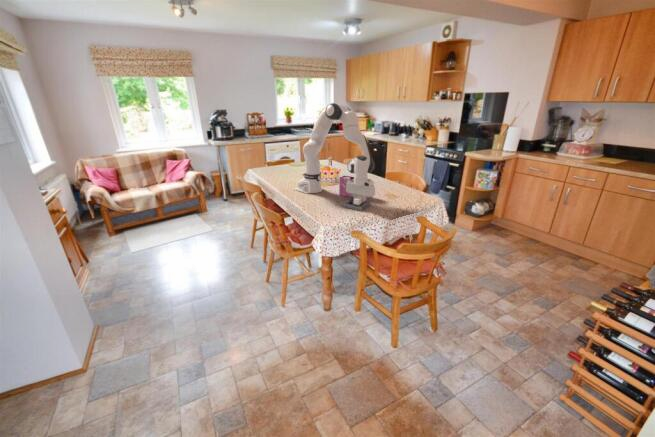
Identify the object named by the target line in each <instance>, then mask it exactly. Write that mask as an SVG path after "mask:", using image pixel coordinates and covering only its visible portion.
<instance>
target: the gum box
mask: <svg viewBox="0 0 655 437" xmlns="http://www.w3.org/2000/svg"><path fill="white" fill-rule="evenodd" d="M349 179H350V180H354V176H348V175H342V176H341V177H339V186H338V188H339V190H338V191H339V192H338V193H339V196H343V197H347V198H349V197H350V198H354V196H353V194H351V193H347V192H346V186H347V180H349ZM369 179H370V180H372V179H371V178H369ZM357 196H359V195H357V194H356V197H357ZM368 199H370V197H366V201H368Z"/></svg>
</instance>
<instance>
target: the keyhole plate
mask: <svg viewBox="0 0 655 437" xmlns="http://www.w3.org/2000/svg"><path fill="white" fill-rule="evenodd" d="M353 202H354V197H351V198H350V199H348V200H347V201H345V202H344V203H343V204H342V207H343V208H346V209H350V210H354V211H358V212H359V211H360V212H362V211H364V210H365V209H367V208H368V207H369V206H371V202H372V201H371V200H365V202H364V203H361V204H360V205H356V204H353Z"/></svg>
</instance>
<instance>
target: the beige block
mask: <svg viewBox="0 0 655 437" xmlns="http://www.w3.org/2000/svg"><path fill="white" fill-rule="evenodd" d="M353 198H354V197H353ZM362 199H364V196H362V195H359V196H357V197H356V198H354V202H353V204H356V205H360V204H361V203H364V202H362ZM365 200H366V198H365ZM366 201H367V200H366Z"/></svg>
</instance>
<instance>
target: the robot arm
mask: <svg viewBox="0 0 655 437" xmlns="http://www.w3.org/2000/svg"><path fill="white" fill-rule="evenodd" d="M334 122H338V123H341V124H342V132H343V136H344V138H345V139H346V140H347V141H348V142H350V143H354V144H356V145H358V146H360V148H361V152H362V155H357V156H355V158H352V159H349V160H348V162H347V171H348V172H349V173H350V174H354V175H353V177H354V180H350V179H349V180H347V186H346V192H347V193H351V194H353V196H354V197H353V198H356V194H357V195H362V196H364V199H362V202H365V198H366V197H369V198H373V197H375V195H376V186H375V181H374V180H372V179H371V178H368V174H371V173H372V172H373V171H374V169H375V166H376V165H375V162H374V159H373V157H372V153H371V150H370V146H369V143H368V140H367V137H366V135H364V134H363V133H362V131H361V129H360V123H359V118H358V115H357V113H356V112H355V111H353V110H351V109H350V108H349V107H348V106H345V105H342V104H338V103H335V102H334V103H333V102H331V103H329V104H328V105H327V106H326V107H325V108H324V109H323V110H322V111H321V113H320V114H319V116H318V117H317V120H316V121H315V123H314V126H313V128H312V130H311V134H310V137H309V139H308V141H306V142H305V143H304V145H303V146H302V153H303V156H304V161H305V162H304V163H305V172H304V174H303V176H304V177H303V178H301V179H300V180H299V181H298V182H297V186H296V187H295V188H294V190H295V191H298V192H300V193H302V194H303V193H304V194H316V193H321V192H323V188H322V182H321V179H322V174H321V162H320V158H319V153H320V152H321V150H322V148H323V146H324V143H325V140H326V138H327V137H328V134H329V131H330V129H331V127H332V125H333V123H334ZM370 179H371V180H370Z"/></svg>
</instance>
